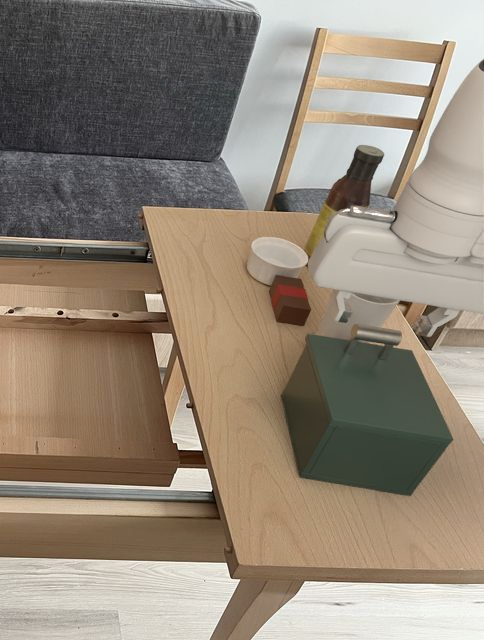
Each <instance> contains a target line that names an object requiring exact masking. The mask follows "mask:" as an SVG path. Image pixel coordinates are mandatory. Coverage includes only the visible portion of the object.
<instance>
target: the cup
mask: <svg viewBox="0 0 484 640" xmlns="http://www.w3.org/2000/svg"><path fill="white" fill-rule="evenodd" d="M343 299H344V302H345V303H349V305H350V308H351V310H352V314H351V316H350V317H349V318H348V322H347V323H342V322H336V321H333V320H332V318H331V310H332V308H333V306H334V304H335V297H334V292H333V289H331V293H330V297H329V300H328V302H327V304H326V307H325V310H324V313H323V315H322V317H321V321H320V323H319V326H318V329H317V331H316V333H315V335H320V336H326V337H332V338H338V339H344V340H350V338H351V329H352V327H353V325H354V324H362V325H368V326H374V327H380V328H383V326H384V325H385V323H386V321H387V320H388V318H389V317H390V316H391V315H392V313H393V312H394V310H395V309H396V308H397V306H398V304H399V303H400V302H401V300H395V299H389V298H383V297H377V296H371V295H365V294H359V293H353V292H352V294H351V296H350V298H349V299H346V298H343ZM358 342H363V343H369V344H372V342H368V341H362V340H359V341H358Z"/></svg>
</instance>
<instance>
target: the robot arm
mask: <svg viewBox="0 0 484 640" xmlns="http://www.w3.org/2000/svg"><path fill="white" fill-rule="evenodd" d="M347 212H348V214H345V213H347ZM307 269H308V273H309V276H310V278H311V280H312V282H313V284H314V285H315V286H316V287H318V288H323V289H328V290H333V292H334V297H335V304H334V306H333V308H332V310H331V318H332V320H333V321H336V322H342V323H347V322H348V318H349V317H350V316H351V314H352V310H351V308H350V305H349V303H345V302H344V299H343V298H346V299H349V298H350V296H351V294H352V292H353V293H359V294H365V295H371V296H377V297H383V298H389V299H395V300H400V302H401V301H402V302H407V303H414V304H420V305H424V306H425V305H426V306H433V307H436V309H434V310H433V311H431V312H430V313H429V314H427V315H422V314H419V316H418V317H417V318H416V321H415V322H414V324H413V326H412V328H413V332H414V333H415V335H416V336H423V337H426V338H431V337H432V336H433V335H434V334H435V331H436V330H437V329H438V327H442V326H443V325H445V324H446V323H449V322H450V321H452V320H454V319H455V318H457V316H458V315H459V313H460V312H469V313H473V314H474V313H475V314H479V315H484V58H483V59H482V60H480V61H479V62H478V63H477V64H476V65H475V66H474V67H473V68H472V69H471V70H470V71H469V72H468V74H467V75H466V77H465V78H464V79H463V80H462V82H461V83H460V85H459V86H458V88H457V89H456V90H455V93H454V94H453V95H452V97H451V99H450V100H449V102H448V104H447V105H446V107H445V109H444V111H443V113H442V114H441V115H440V118H439V120H438V122H437V123H436V125H435V127H434V129H433V131H432V132H431V135H430V137H429V141H428V146H427V151H426V154H425V156H424V157H423V160H422V161H421V162H420V163H419V165H418V166H417V167H416V168H414V170H413V171H412V173H411V174H410V176H409V177H408V180H407V181H406V183H405V185H404V187H403V189H402V191H401V193H400V195H399V197H398V199H397V200H396V202H395V204H394V206H393V208H392V210H387V209H382V208H381V209H380V208H369V207H368V208H365V207H362V206H350V207H349V208H347V209H342V210H340V211H338V212H335V213H334V214H333V215H332V216H331V217H330V219H329V221H328V223H327V226H326V228H325V230H324V236H323V237H322V239H321V240H320V242H319V243H318V245H317V246H316V248H315V250H314V252H313V254H312V255H311V257H310V259H309V262H308V265H307Z"/></svg>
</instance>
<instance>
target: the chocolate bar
mask: <svg viewBox="0 0 484 640" xmlns="http://www.w3.org/2000/svg"><path fill="white" fill-rule="evenodd" d="M269 287H270V288H269V290H268V292H269V296H270V302H271V306H272V310H273V312H274V317H275V320H276V322H277V323H284V324H289V325H296V326H302V327H304V326H305V324H306V322H307V320H308V318H309V315H310V314H311V312H312V308H311V305H310V301H309V297H308V294H307V290H306V288H305V286H304V283H303V280H302V278H299V277H298V278H292V277H285V276H279V275H275V277H274V280H273V282H272V285H271V286H269Z"/></svg>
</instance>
